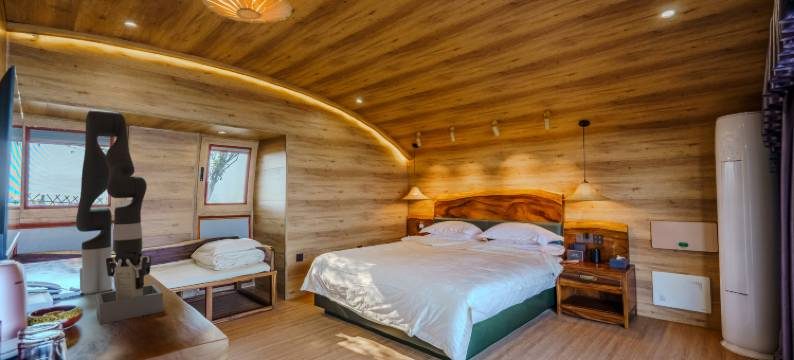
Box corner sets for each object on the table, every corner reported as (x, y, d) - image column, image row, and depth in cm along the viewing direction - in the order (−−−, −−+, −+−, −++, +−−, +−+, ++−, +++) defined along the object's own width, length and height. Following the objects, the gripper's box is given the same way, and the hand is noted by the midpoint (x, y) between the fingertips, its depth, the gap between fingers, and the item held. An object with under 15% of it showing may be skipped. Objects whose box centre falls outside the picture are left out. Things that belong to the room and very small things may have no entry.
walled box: (99, 324, 111) (99, 304, 111) (97, 312, 123) (96, 293, 123) (162, 311, 121) (162, 292, 121) (154, 301, 133) (154, 284, 133)
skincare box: (143, 301, 124) (143, 263, 124) (133, 305, 120) (132, 266, 120) (125, 301, 124) (125, 264, 125) (114, 305, 120) (114, 267, 120)
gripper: (157, 235, 126) (158, 285, 125) (116, 236, 127) (117, 286, 126) (140, 238, 118) (141, 291, 118) (97, 239, 119) (98, 292, 119)
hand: (129, 288), depth 122 cm, fingers closed on skincare box, 6 cm apart
